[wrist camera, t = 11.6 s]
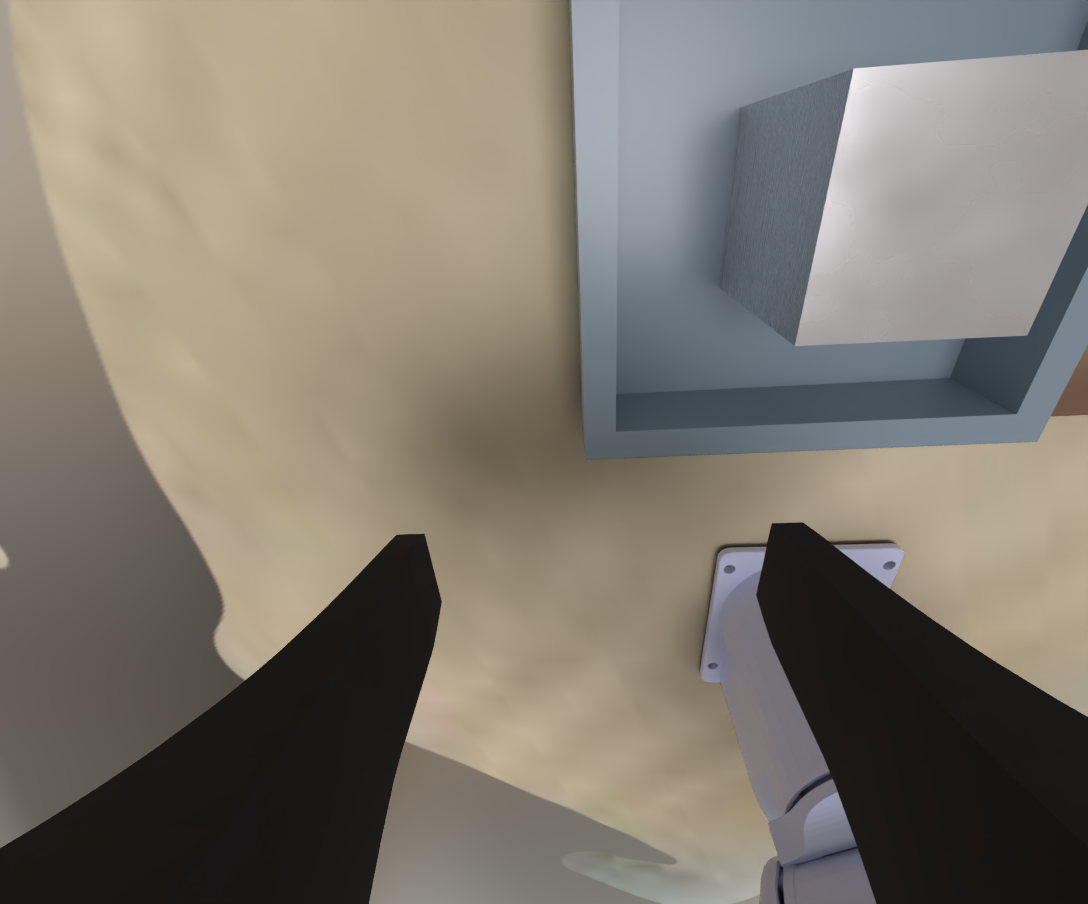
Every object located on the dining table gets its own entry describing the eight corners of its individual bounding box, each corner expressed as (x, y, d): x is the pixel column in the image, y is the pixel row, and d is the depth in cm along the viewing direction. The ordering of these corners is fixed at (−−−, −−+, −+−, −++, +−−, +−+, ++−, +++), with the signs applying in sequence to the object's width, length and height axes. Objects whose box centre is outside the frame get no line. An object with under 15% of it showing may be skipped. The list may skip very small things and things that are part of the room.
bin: (957, 395, 18) (1036, 441, 15) (581, 413, 19) (585, 459, 16) (1187, -177, 11) (1428, -310, 8) (564, -103, 12) (565, -197, 9)
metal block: (922, 93, 13) (1161, 44, 8) (871, 279, 15) (1027, 335, 10) (740, 107, 13) (853, 68, 8) (718, 287, 16) (795, 346, 10)
